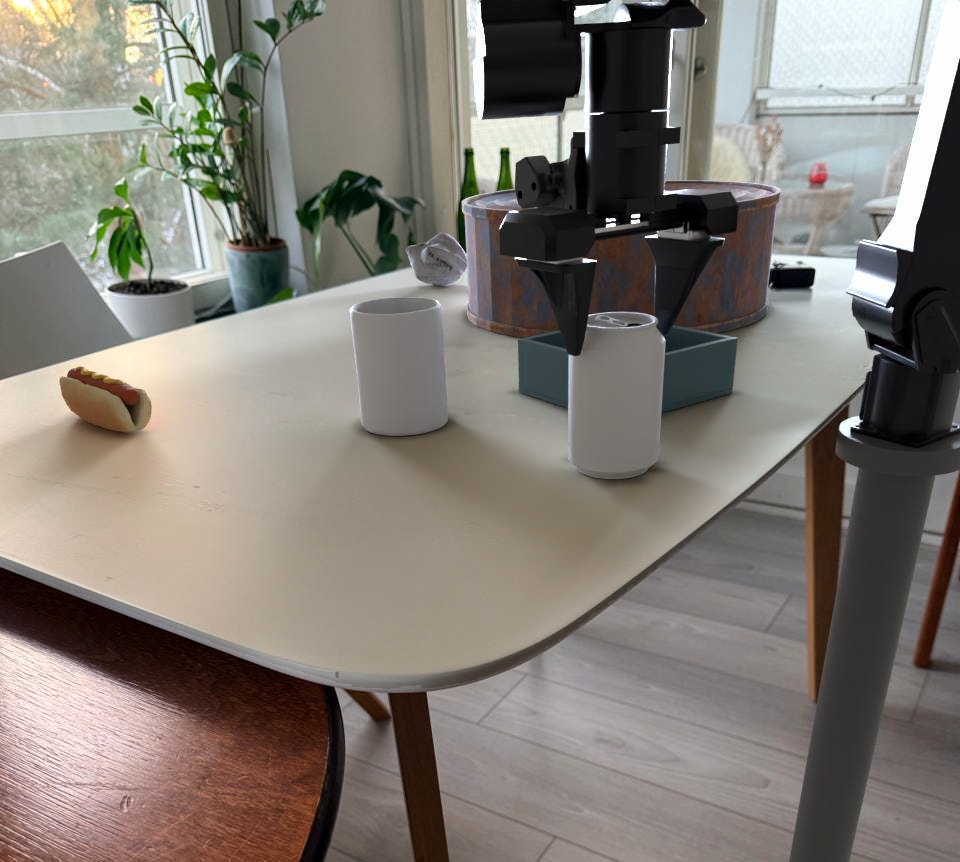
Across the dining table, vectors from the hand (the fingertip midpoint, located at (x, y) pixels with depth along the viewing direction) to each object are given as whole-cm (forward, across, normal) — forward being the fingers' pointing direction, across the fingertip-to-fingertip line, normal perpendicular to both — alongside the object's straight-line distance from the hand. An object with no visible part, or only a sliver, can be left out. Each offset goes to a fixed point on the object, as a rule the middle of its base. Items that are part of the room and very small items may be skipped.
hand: (619, 344), depth 70 cm
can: (+10, 0, 0) cm, 10 cm away
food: (+10, +29, -44) cm, 54 cm away
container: (+10, -45, -49) cm, 67 cm away
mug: (+10, +5, -24) cm, 27 cm away
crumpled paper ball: (+10, -39, -87) cm, 96 cm away
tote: (+10, -16, -16) cm, 25 cm away
